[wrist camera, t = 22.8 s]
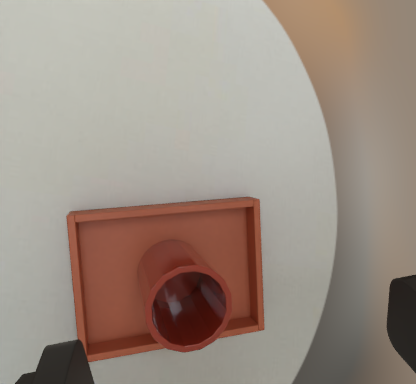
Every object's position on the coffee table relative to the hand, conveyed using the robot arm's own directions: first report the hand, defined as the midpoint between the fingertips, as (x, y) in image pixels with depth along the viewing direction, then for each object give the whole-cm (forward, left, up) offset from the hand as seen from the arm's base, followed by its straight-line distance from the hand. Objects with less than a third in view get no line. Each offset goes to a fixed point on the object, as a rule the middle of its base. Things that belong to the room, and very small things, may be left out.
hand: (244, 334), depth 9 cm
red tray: (-1, +5, -24) cm, 24 cm away
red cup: (-1, +6, -23) cm, 24 cm away
